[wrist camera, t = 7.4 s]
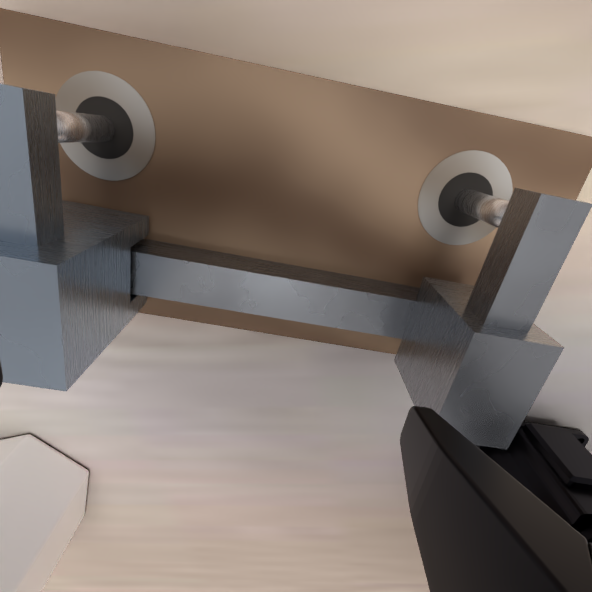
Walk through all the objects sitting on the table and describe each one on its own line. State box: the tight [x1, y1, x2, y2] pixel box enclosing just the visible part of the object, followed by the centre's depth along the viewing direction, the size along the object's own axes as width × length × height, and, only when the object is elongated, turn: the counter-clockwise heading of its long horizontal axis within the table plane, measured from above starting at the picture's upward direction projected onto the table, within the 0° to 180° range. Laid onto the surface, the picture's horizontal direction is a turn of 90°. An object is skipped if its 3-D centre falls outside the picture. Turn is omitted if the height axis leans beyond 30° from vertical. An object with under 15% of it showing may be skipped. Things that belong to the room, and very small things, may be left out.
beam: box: [130, 188, 592, 449], centre depth 14 cm, size 9×22×7 cm, turn 79°
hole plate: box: [0, 8, 592, 354], centre depth 17 cm, size 12×25×1 cm, turn 79°
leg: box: [0, 83, 149, 391], centre depth 13 cm, size 9×4×7 cm, turn 169°
